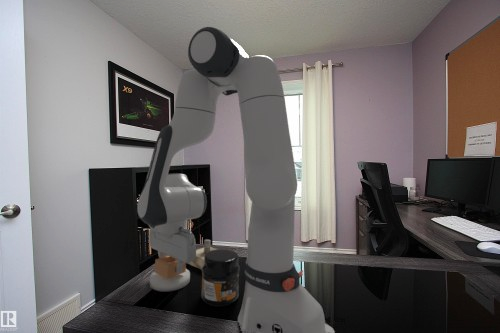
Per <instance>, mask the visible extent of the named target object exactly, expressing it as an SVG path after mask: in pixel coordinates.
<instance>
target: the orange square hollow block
mask: <svg viewBox="0 0 500 333" xmlns="http://www.w3.org/2000/svg"><path fill="white" fill-rule="evenodd" d="M154 261H155V263H154V272H155V273H157V274H159V275H161V276H162V277H164V278H166V279H169V278H171V277H174V276H176V275H179V274H181V273H184V272H186V269H187V267H186V266H187V263H184V265H183V269H182V272H181V273H179V274H178V273H176V272H175V267H176V266H177V264H178V263H177V259H175V258H173V257H171V256H168V255H166V256H165V257H162V258H159V257H158V258H155V260H154ZM170 262H171V263H170Z"/></svg>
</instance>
